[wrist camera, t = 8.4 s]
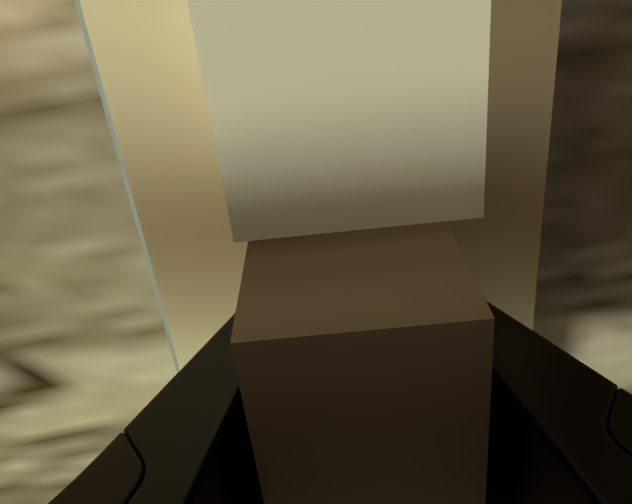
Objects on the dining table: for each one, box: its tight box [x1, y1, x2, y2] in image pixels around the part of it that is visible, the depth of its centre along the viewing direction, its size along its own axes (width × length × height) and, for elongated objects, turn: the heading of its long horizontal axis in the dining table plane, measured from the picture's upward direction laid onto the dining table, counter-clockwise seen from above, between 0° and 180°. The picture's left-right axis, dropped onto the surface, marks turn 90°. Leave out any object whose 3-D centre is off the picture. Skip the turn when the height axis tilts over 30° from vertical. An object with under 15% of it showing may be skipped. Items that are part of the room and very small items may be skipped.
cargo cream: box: [187, 0, 491, 243], centre depth 8 cm, size 3×3×3 cm
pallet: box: [79, 0, 562, 504], centre depth 9 cm, size 14×7×7 cm, turn 6°
